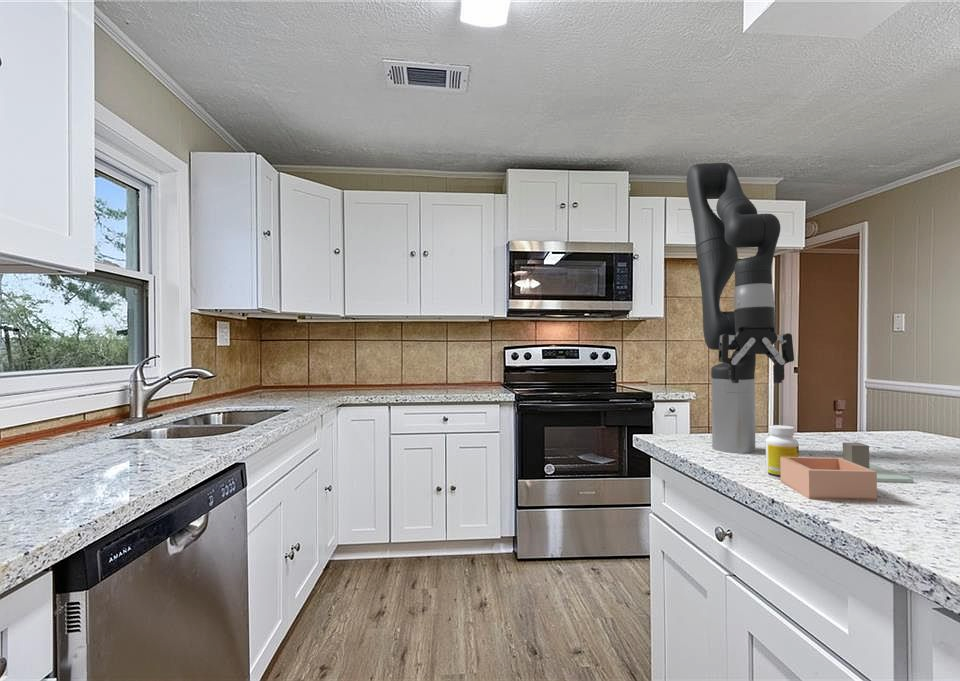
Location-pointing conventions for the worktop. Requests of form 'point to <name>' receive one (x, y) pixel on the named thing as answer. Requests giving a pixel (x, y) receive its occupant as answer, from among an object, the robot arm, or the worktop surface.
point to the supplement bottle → (779, 448)
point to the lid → (860, 456)
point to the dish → (829, 478)
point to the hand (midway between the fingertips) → (756, 382)
